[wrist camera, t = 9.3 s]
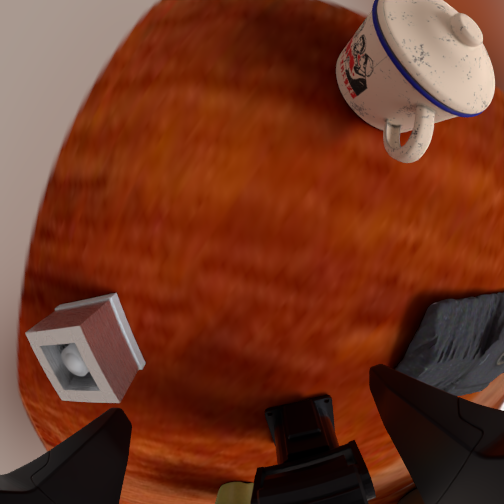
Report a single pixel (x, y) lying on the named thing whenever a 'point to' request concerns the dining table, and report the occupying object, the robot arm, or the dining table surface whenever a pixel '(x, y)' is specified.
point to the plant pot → (235, 493)
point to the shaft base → (121, 319)
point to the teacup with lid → (415, 71)
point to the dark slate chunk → (458, 345)
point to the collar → (86, 352)
